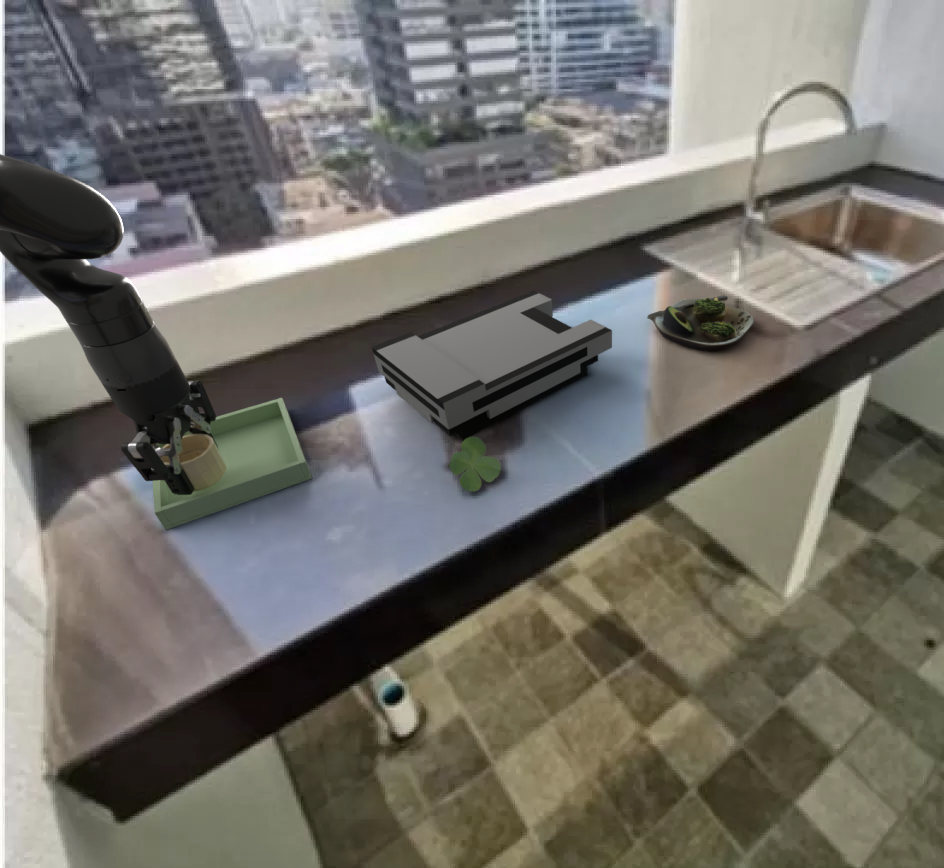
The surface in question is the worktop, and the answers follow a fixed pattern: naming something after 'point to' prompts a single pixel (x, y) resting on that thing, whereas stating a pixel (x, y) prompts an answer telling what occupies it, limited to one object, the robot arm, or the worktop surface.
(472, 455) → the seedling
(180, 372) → the robot arm
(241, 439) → the tray
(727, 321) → the salad plate
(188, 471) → the beige cup
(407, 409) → the worktop surface
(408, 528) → the worktop surface
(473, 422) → the game console
